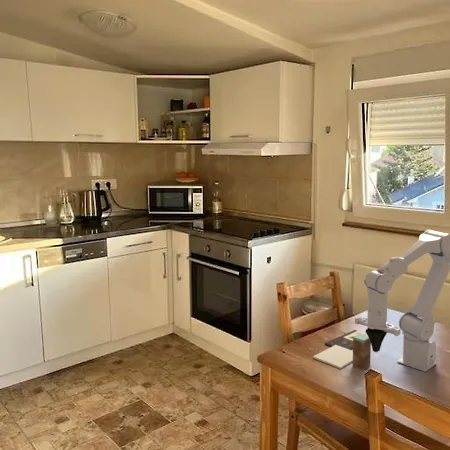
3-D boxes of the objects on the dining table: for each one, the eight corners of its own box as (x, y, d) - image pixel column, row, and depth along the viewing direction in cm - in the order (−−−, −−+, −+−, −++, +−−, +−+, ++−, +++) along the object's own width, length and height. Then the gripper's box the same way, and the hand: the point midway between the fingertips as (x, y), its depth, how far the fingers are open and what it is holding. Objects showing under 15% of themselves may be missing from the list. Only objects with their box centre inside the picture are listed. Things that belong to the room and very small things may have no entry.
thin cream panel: (362, 356, 155) (362, 354, 155) (340, 368, 147) (340, 367, 147) (335, 346, 164) (335, 344, 164) (313, 358, 155) (313, 356, 155)
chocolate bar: (324, 342, 166) (355, 329, 176) (324, 345, 166) (354, 332, 177) (345, 351, 159) (375, 336, 169) (345, 353, 159) (375, 339, 170)
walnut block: (370, 365, 148) (370, 336, 147) (363, 370, 146) (364, 340, 144) (359, 361, 151) (359, 333, 150) (352, 365, 149) (353, 336, 147)
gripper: (349, 307, 144) (349, 347, 146) (392, 319, 133) (391, 362, 136) (361, 301, 149) (361, 341, 151) (404, 312, 138) (402, 354, 140)
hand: (376, 350), depth 144 cm, fingers closed
